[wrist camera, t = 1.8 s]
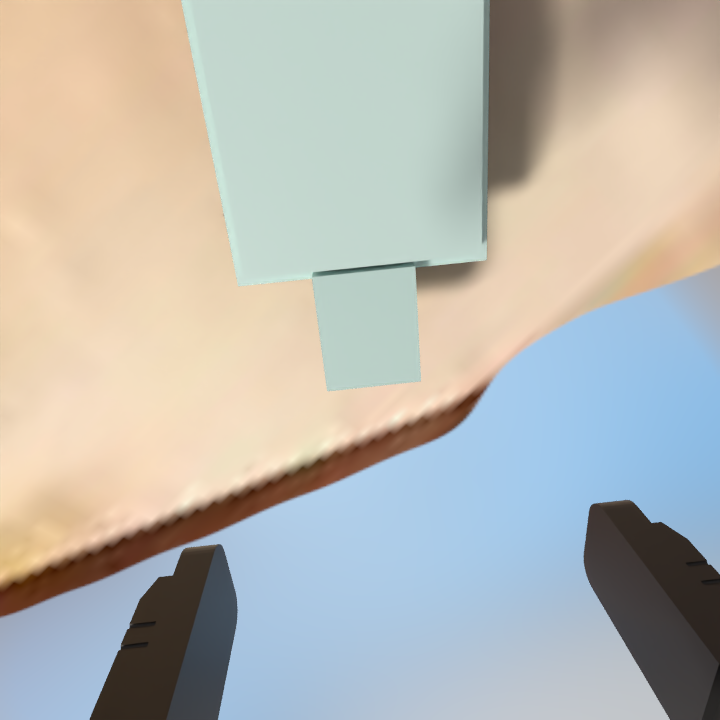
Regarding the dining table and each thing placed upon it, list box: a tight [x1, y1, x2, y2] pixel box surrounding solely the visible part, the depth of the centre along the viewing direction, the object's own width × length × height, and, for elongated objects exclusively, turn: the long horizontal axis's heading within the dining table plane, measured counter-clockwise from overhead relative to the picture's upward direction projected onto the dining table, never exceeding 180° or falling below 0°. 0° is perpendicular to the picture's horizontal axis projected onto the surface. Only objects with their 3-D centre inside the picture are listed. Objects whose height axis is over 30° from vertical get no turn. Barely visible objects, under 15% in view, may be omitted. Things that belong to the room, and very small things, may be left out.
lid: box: [181, 0, 490, 391], centre depth 19 cm, size 18×11×2 cm, turn 5°
